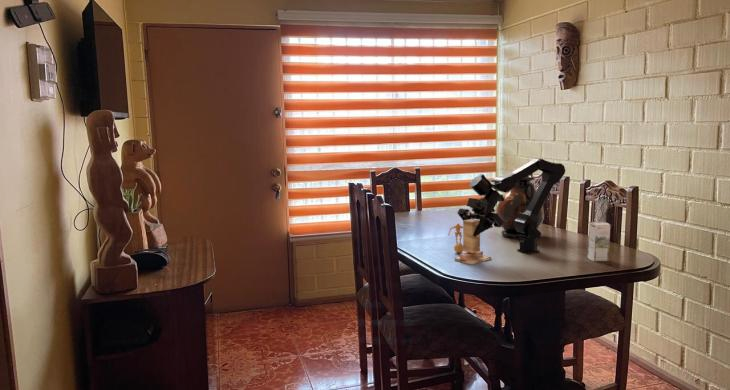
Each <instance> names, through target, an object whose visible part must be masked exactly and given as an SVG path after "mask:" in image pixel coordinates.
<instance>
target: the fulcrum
mask: <svg viewBox="0 0 730 390" xmlns="http://www.w3.org/2000/svg"><path fill="white" fill-rule="evenodd" d="M486 260H487V261H490V260H492V256H490V255H484V251H483V250H480V251H479V252H475V253H469V252H464V253H463V252H462V253H459V256H457V257H455V258H454V262H459V263H463V264H467V265H474V264H479V263H483V262H486ZM482 261H483V262H482Z"/></svg>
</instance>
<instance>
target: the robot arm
mask: <svg viewBox="0 0 730 390" xmlns="http://www.w3.org/2000/svg"><path fill="white" fill-rule="evenodd" d="M537 171H541V181H540V184H539V185H538V187H537V189H536V190H535V195H534V197H533V199H532V201H531V202H530V204H529V206H528V208H527V210H526V211H525V212H524V213H519V214H518V216H517V218H516V220H515V221H516V222H515V224H514V226H515V229H516V231H517V233H518V235H520V236H522V237H520V239H519V249H516V250H517V252H522V253H525V254H535V253H540V250H539V249H538V239H540V238H541V236H542V232H541V231H540V230H539V228H538V229H537V228H536V226H537V223H538V221H537V216H538V214H539V212H540V210H541V208H542V206H543V207H544V205H545V202H546V200H547V198H548V197H549V195H550V192H551V191H552V189H553V186H554V185H556V184H557V183H559V182H560V181H561V180H562V179H563V177H564V176H565V173H566V167H565V166H564V164H562V163H561V162H560V163H559V162H552V161H548V160H545V159H543V158H538V157H537V158H532V160H531V161H529V162H527V163H525V164H524V165H522V166H520V167H518V168H517V169H515V170H513V171H511V172H510V173H504V174H502V175H498V176H495V177H494V178H493V179H492V180H490V181H489V179H488V178H487V177H486V176H485V175H484V174H483V173H480V174H479V175H477V176H475V177H474V178H473V179H471V180H470V182H469V187H470V188H471V189H472V190H473V191H474V192H475V193H476V194H477V195H478V196H481V198H480V199H478V198H473V197H472V198H471V197H469V198H468V200H467V203H466V207H469V208H471V211H472V212H471V211H470V210H469V209H468V208H459V209H458V211H457V215H458V216H459V217H460V218H461V220H462V222H463V221H464V220H469V219H474V220H480V223H479V225H478V226H477V228H476V230H475V232H474V234H473V235H474V236H477V235H479V234H480V235H481V234H482V233H483V232H485V231H487V230H489V229H492V228H493V226H494V228H500V229H501V228H502V227H501V226H502V224H503V221H502V219H501V218H500V217H499V215H498V214H497V213H496V210H495V208H496V206H497V205H498V203H499V201H504V197H503V195H504V194H501V193H506V192H509V191H510V190H511V189H512V188H514V187H515V185H516V183H517V182H519V181H520V180H522V179H524V178H525V177H527V176H532V174H534V173H535V172H537ZM500 192H501V193H500ZM482 196H483V197H482Z"/></svg>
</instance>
